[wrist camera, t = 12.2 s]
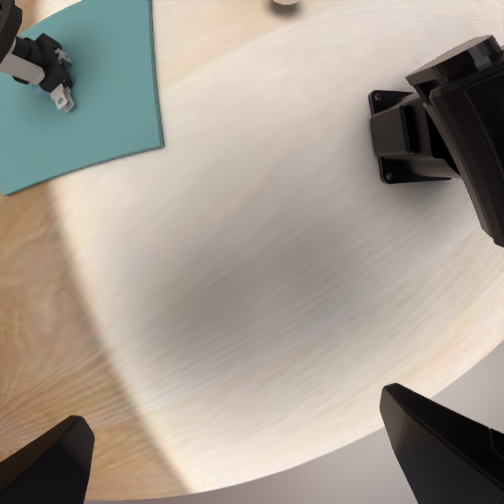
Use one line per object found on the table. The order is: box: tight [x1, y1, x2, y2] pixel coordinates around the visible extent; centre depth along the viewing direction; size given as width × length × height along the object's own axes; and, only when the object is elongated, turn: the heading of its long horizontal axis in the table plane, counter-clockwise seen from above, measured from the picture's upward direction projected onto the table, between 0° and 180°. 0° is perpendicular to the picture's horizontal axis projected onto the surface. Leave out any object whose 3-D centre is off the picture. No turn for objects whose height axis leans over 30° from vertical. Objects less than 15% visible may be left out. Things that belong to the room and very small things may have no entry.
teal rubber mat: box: [0, 0, 164, 196], centre depth 15 cm, size 14×14×1 cm
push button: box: [0, 0, 74, 112], centre depth 10 cm, size 7×5×10 cm
